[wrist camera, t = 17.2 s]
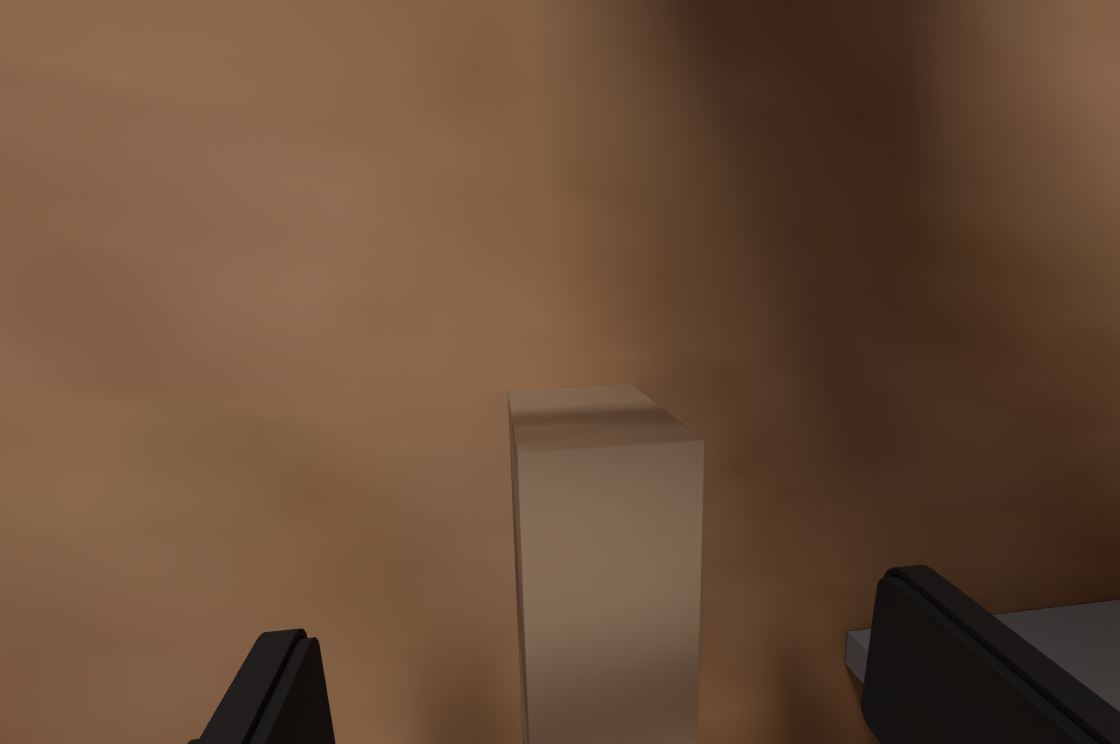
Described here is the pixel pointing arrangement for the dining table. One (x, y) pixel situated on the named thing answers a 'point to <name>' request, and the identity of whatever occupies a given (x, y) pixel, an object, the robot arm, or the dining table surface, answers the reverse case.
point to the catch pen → (1051, 643)
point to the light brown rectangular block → (606, 566)
